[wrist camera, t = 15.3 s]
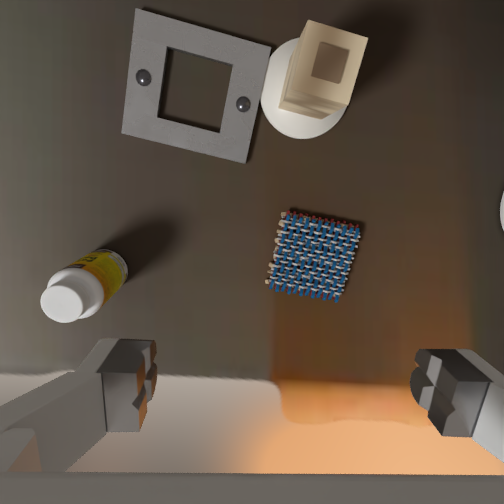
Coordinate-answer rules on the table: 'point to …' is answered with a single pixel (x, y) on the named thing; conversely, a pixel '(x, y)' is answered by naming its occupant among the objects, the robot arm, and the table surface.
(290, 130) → the pad
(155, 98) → the rail plate
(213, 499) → the robot arm
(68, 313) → the supplement bottle
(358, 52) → the block
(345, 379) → the table surface
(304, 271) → the woven mat
